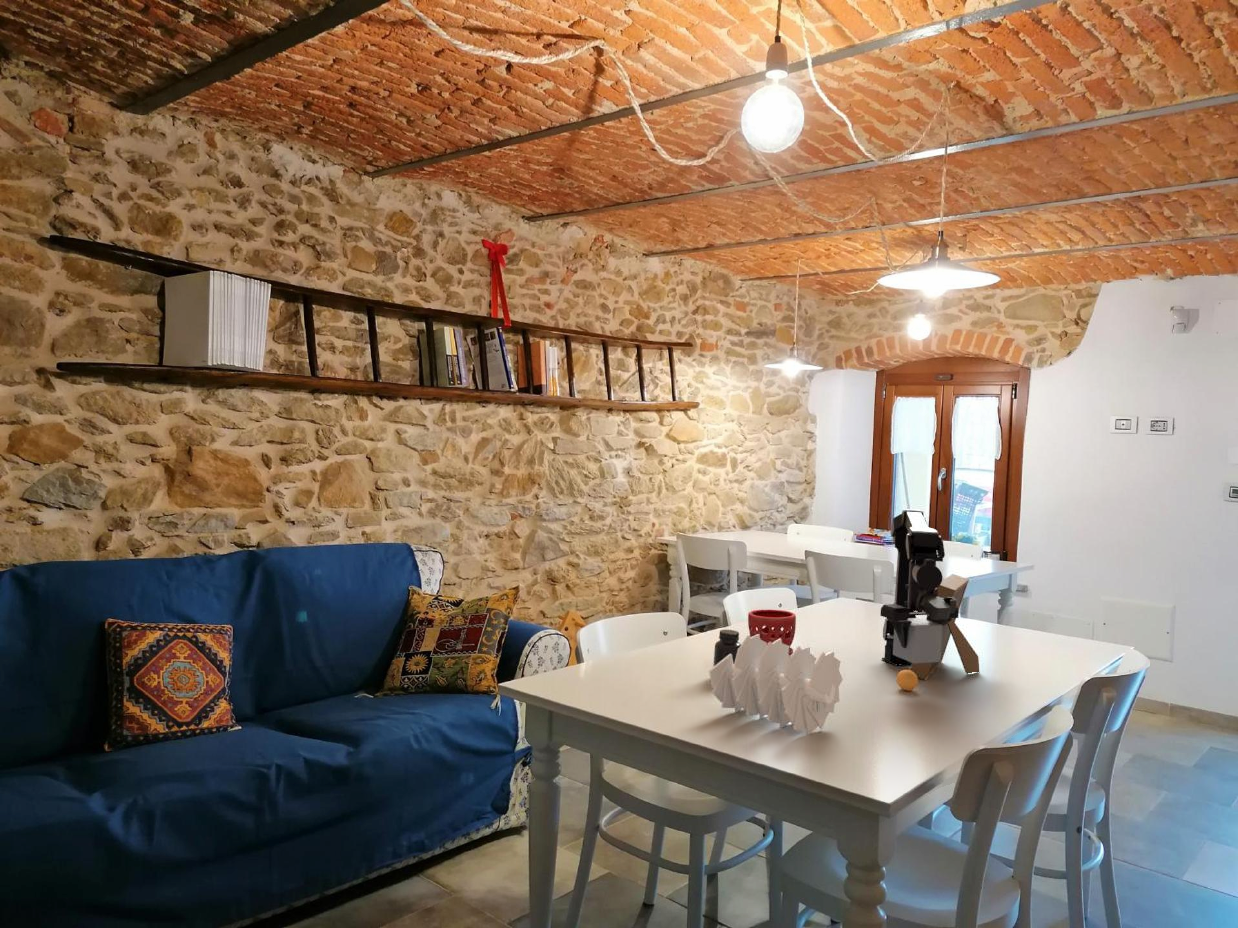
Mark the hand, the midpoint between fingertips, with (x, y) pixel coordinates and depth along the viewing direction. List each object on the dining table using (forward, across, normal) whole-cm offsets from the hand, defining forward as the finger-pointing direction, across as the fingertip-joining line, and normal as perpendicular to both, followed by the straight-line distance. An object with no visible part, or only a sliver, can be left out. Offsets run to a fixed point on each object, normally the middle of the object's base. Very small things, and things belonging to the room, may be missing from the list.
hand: (918, 646), depth 204 cm
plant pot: (+12, -17, +40) cm, 45 cm away
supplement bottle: (+12, -40, +21) cm, 47 cm away
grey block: (+3, 0, 0) cm, 3 cm away
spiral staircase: (+12, -44, -10) cm, 47 cm away
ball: (+9, 0, +3) cm, 10 cm away
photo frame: (+12, +21, +14) cm, 28 cm away
